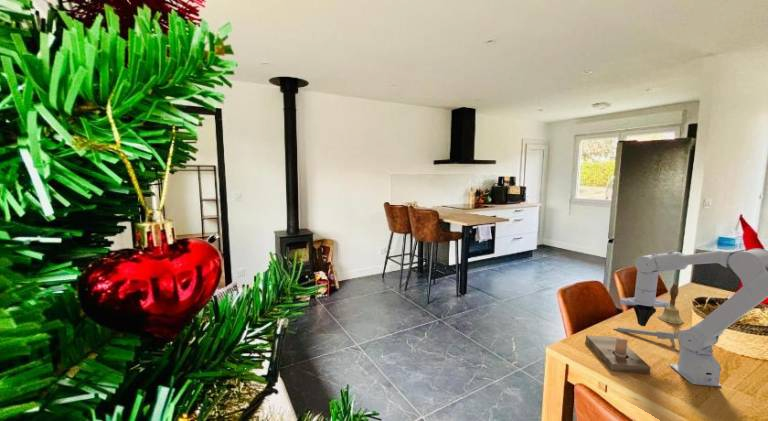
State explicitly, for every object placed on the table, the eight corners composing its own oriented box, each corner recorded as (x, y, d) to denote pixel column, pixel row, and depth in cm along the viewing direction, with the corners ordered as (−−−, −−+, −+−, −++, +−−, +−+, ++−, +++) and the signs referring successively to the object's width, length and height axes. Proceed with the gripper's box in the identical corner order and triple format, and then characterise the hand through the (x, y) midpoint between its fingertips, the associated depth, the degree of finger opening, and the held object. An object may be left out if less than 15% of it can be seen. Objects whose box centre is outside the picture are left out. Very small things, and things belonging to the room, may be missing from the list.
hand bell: (655, 313, 143) (660, 279, 141) (680, 318, 139) (685, 283, 136) (660, 321, 136) (664, 285, 134) (686, 326, 132) (691, 289, 129)
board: (649, 374, 101) (650, 367, 101) (611, 370, 103) (612, 363, 102) (617, 343, 119) (617, 337, 118) (585, 341, 120) (586, 334, 120)
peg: (627, 364, 106) (629, 342, 105) (616, 363, 107) (618, 341, 106) (622, 359, 109) (624, 337, 108) (612, 357, 110) (614, 336, 109)
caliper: (681, 347, 117) (683, 331, 116) (681, 348, 116) (683, 332, 115) (613, 329, 130) (615, 314, 129) (613, 330, 129) (614, 315, 128)
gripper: (660, 285, 115) (656, 321, 116) (616, 283, 117) (613, 318, 119) (675, 293, 108) (670, 330, 110) (628, 290, 110) (624, 327, 112)
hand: (641, 324), depth 114 cm, fingers closed
